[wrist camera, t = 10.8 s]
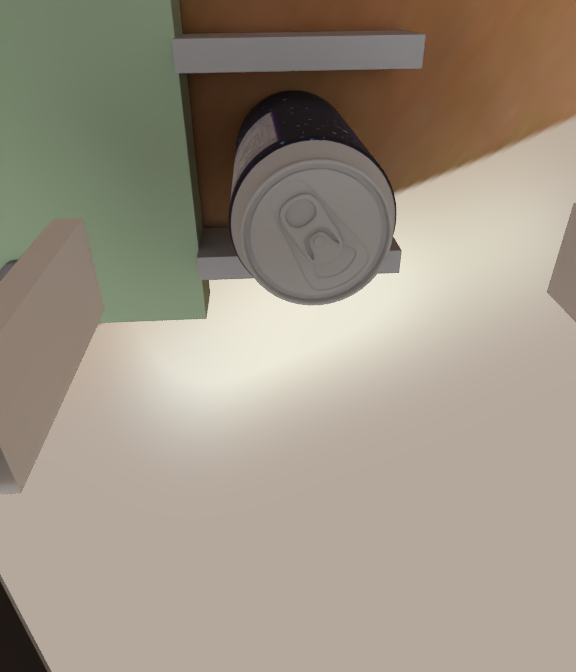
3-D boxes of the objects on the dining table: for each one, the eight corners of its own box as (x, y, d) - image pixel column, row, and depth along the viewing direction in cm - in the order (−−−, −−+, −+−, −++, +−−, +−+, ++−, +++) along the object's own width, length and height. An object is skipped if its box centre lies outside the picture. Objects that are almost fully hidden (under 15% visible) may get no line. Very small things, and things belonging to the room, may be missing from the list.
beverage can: (277, 223, 29) (291, 343, 19) (213, 133, 26) (189, 217, 16) (367, 163, 27) (435, 258, 17) (309, 62, 25) (349, 104, 14)
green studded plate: (-118, -40, 22) (-186, -48, 18) (407, -46, 23) (435, -54, 19) (1, 300, 30) (-30, 337, 27) (378, 286, 31) (393, 320, 28)
